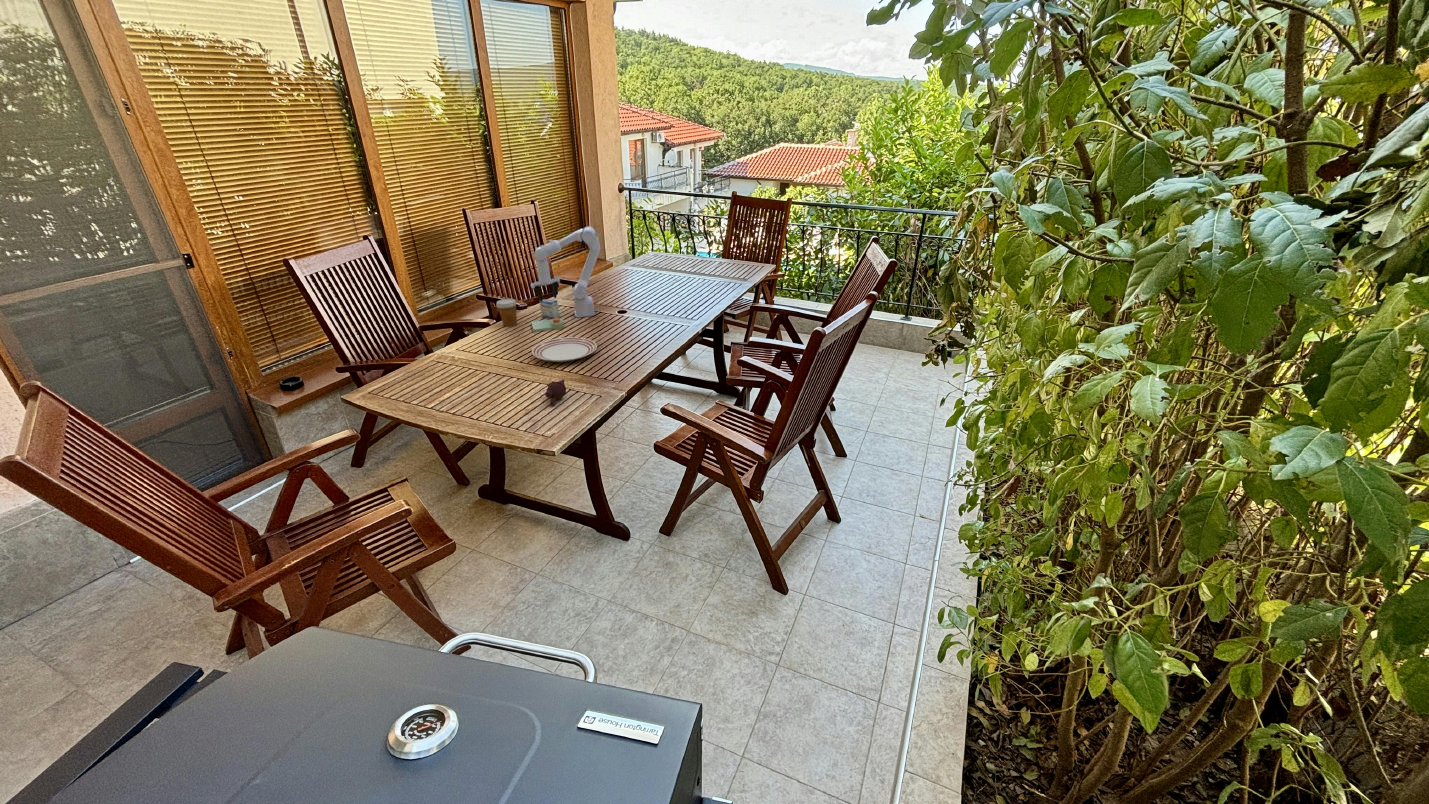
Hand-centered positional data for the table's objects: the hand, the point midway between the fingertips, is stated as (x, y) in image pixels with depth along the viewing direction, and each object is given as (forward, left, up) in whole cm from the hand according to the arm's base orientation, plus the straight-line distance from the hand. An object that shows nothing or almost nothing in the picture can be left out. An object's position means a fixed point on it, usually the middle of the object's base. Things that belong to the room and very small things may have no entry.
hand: (547, 299), depth 300 cm
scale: (+3, +14, -9) cm, 17 cm away
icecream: (+7, +96, -10) cm, 97 cm away
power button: (-1, +18, -7) cm, 19 cm away
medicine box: (0, 0, -10) cm, 10 cm away
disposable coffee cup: (+20, +4, -10) cm, 23 cm away
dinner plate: (-1, +54, -10) cm, 55 cm away
